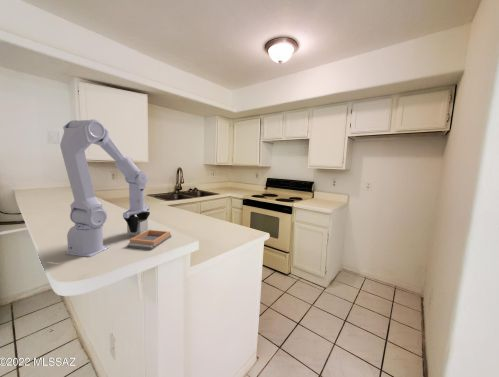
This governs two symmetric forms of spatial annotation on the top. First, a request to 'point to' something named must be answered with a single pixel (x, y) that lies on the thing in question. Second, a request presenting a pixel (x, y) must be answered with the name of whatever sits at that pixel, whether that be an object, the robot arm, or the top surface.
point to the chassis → (149, 239)
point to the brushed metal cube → (139, 227)
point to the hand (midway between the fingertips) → (137, 230)
